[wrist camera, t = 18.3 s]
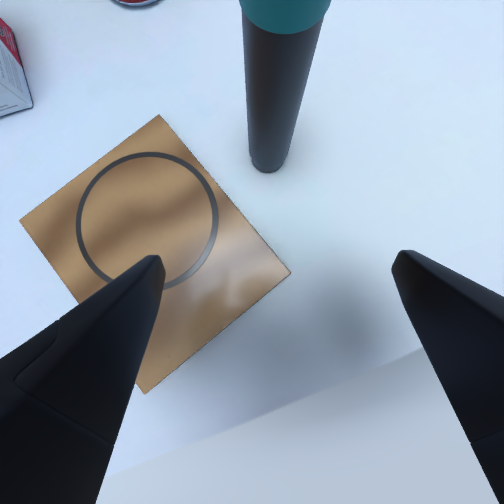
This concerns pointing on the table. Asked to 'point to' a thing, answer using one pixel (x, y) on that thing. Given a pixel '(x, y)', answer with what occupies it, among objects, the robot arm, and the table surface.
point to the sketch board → (158, 242)
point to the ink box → (11, 75)
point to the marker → (277, 71)
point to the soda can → (136, 2)
